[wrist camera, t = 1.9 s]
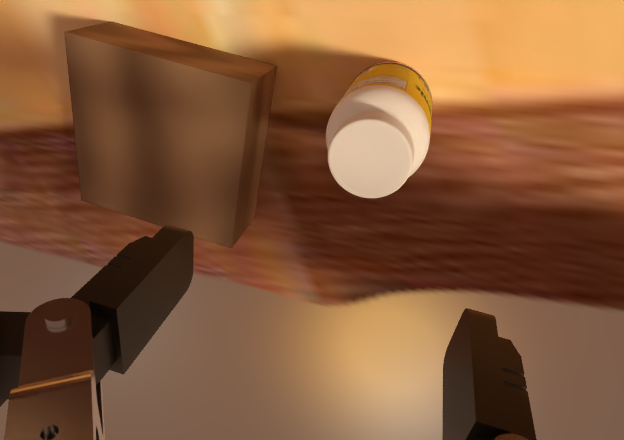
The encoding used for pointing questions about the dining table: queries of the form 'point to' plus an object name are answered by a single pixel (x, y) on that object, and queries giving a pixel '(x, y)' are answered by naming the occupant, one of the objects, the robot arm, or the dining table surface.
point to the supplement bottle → (380, 130)
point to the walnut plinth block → (168, 128)
